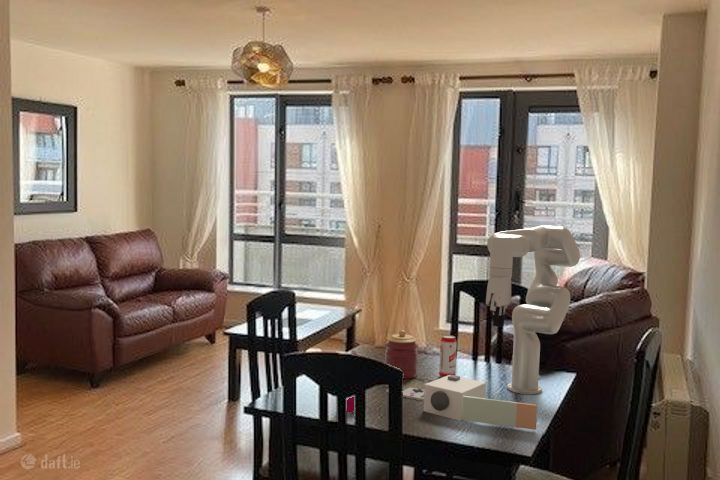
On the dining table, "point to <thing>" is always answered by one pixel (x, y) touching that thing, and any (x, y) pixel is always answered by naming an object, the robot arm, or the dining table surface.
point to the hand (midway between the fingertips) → (498, 326)
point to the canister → (402, 353)
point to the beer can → (447, 355)
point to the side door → (499, 412)
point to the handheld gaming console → (414, 394)
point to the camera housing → (451, 395)
